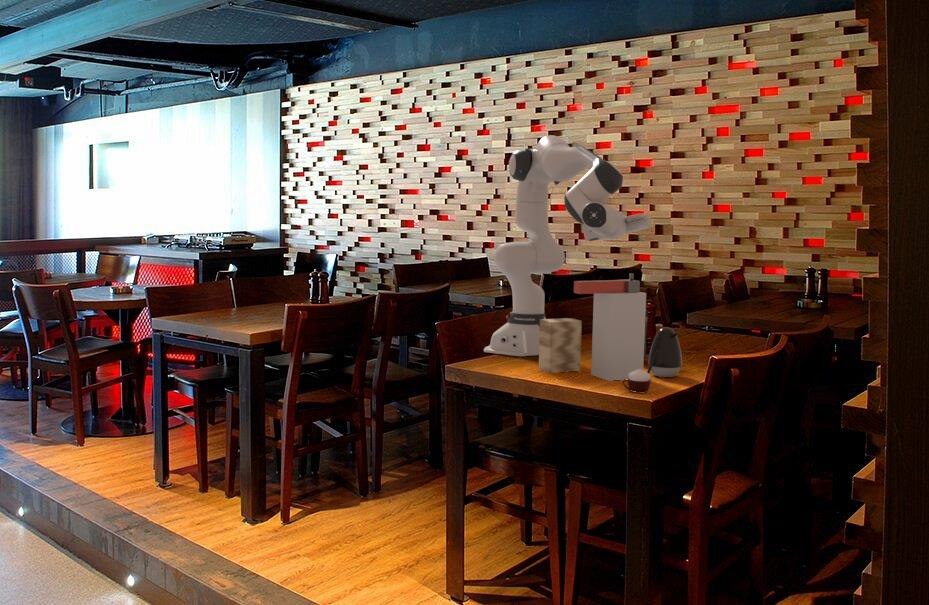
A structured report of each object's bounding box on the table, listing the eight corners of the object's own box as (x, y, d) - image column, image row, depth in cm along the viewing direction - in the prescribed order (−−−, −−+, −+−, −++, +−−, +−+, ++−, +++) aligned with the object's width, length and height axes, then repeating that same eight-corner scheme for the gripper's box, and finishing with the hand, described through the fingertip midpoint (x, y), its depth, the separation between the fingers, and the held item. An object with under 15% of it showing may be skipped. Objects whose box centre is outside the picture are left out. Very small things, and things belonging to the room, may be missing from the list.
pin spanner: (582, 294, 251) (582, 275, 250) (571, 292, 256) (572, 274, 256) (639, 292, 259) (640, 274, 258) (628, 290, 264) (628, 272, 264)
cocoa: (621, 393, 241) (620, 351, 239) (627, 388, 247) (626, 347, 245) (655, 395, 237) (654, 352, 235) (660, 390, 243) (659, 348, 241)
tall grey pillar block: (609, 381, 255) (612, 294, 253) (591, 375, 265) (593, 290, 262) (642, 378, 260) (646, 293, 257) (624, 372, 269) (627, 290, 266)
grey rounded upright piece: (661, 380, 258) (663, 330, 256) (640, 374, 267) (642, 325, 266) (688, 378, 262) (691, 328, 260) (667, 372, 272) (669, 324, 270)
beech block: (549, 373, 266) (550, 322, 264) (538, 369, 273) (539, 319, 271) (580, 371, 271) (581, 320, 269) (568, 367, 277) (570, 318, 275)
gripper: (643, 206, 252) (655, 214, 265) (577, 221, 261) (592, 229, 274) (646, 226, 251) (658, 234, 264) (580, 241, 260) (595, 248, 273)
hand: (624, 231), depth 269 cm, fingers open, 8 cm apart
